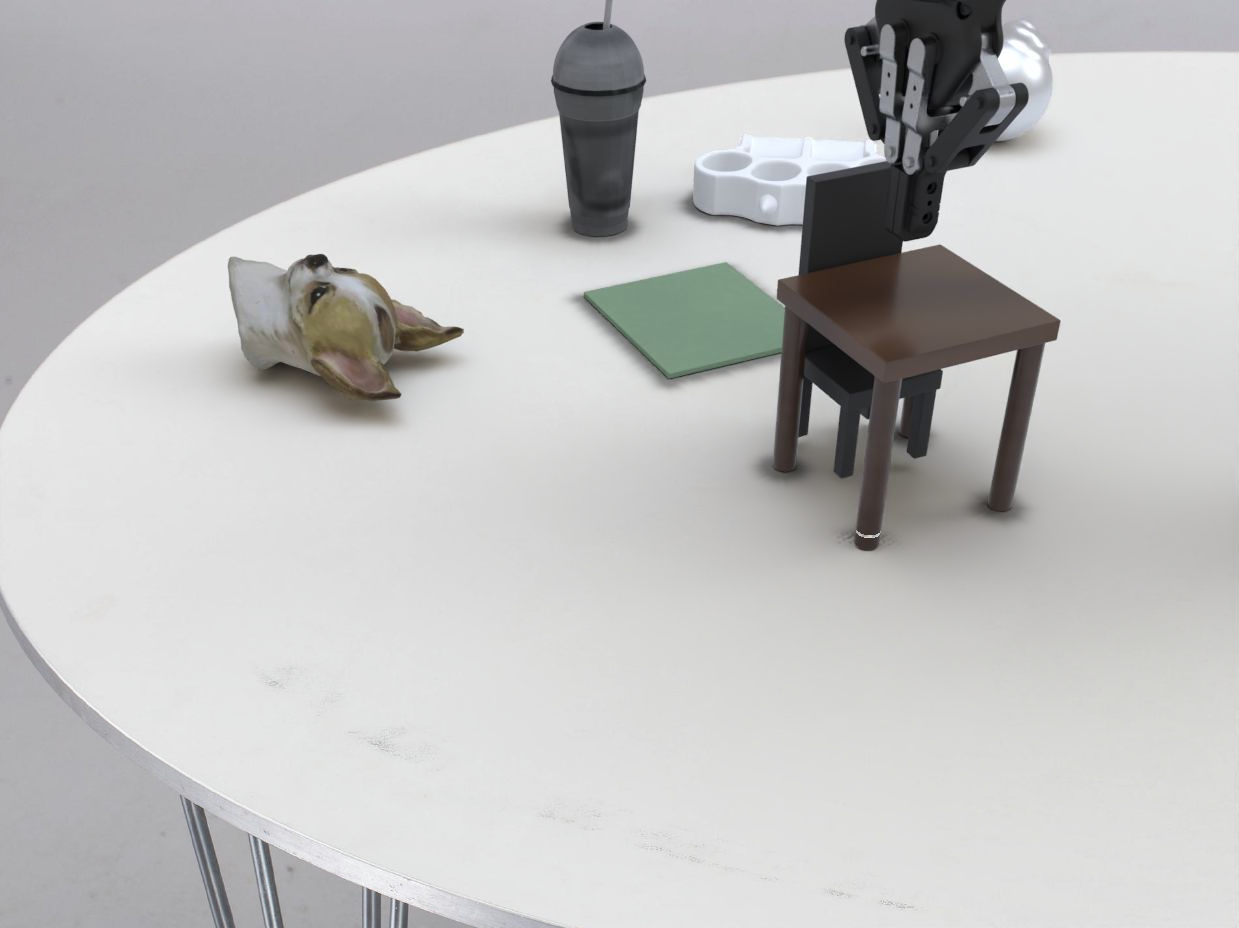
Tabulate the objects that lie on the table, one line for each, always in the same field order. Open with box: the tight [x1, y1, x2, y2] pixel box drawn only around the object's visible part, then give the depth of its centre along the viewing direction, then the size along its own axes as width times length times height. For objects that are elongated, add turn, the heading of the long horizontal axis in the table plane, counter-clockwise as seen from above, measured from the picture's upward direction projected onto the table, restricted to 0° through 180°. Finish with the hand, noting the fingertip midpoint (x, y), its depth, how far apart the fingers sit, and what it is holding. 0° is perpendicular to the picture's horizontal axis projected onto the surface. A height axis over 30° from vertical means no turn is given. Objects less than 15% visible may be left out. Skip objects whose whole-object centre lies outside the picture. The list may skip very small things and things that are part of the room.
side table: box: [772, 243, 1061, 551], centre depth 83 cm, size 11×11×12 cm
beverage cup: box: [550, 0, 647, 237], centre depth 111 cm, size 7×7×20 cm
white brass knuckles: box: [692, 133, 887, 227], centre depth 120 cm, size 3×18×15 cm
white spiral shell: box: [995, 18, 1054, 142], centre depth 128 cm, size 9×10×10 cm
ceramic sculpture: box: [227, 253, 465, 402], centre depth 96 cm, size 11×9×15 cm
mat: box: [583, 261, 785, 380], centre depth 104 cm, size 14×12×1 cm
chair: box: [798, 161, 944, 479], centre depth 83 cm, size 6×6×16 cm
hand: (908, 233), depth 78 cm, fingers closed
